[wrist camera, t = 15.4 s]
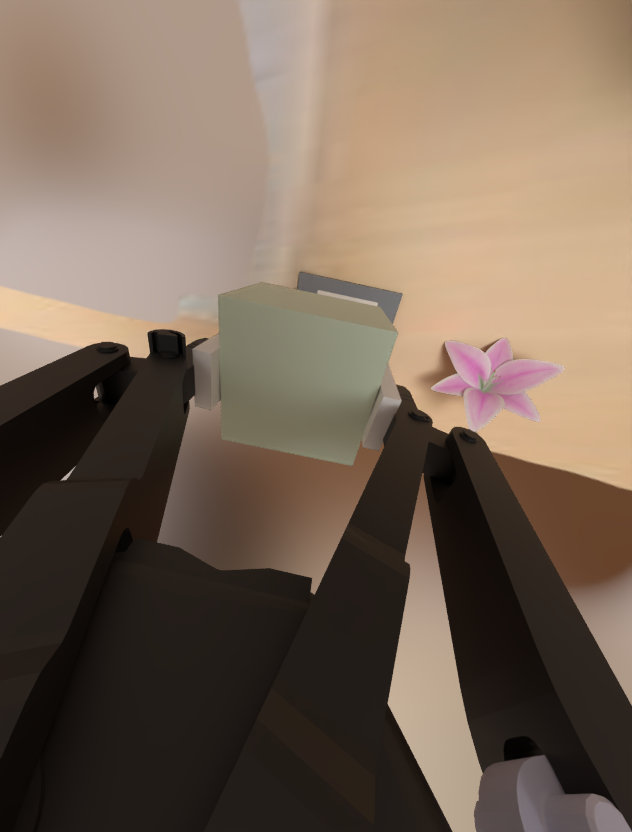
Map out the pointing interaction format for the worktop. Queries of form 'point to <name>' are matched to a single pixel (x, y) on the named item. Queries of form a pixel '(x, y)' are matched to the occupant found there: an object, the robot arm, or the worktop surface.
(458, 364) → the lily
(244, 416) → the sage block
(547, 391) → the worktop surface
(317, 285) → the slate build plate
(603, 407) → the worktop surface
